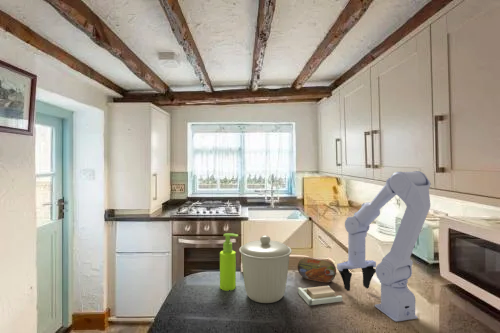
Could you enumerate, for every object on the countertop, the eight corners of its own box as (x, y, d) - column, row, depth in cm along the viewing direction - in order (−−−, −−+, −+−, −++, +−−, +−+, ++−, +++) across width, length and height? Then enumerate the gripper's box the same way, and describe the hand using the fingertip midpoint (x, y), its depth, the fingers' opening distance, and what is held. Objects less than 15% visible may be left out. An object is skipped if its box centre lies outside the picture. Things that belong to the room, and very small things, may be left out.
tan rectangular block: (334, 300, 97) (334, 291, 97) (313, 303, 95) (313, 294, 95) (327, 294, 102) (327, 285, 102) (306, 296, 100) (306, 288, 100)
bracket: (342, 301, 96) (342, 295, 96) (309, 305, 93) (309, 299, 93) (328, 289, 104) (328, 284, 104) (298, 293, 101) (298, 287, 101)
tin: (297, 277, 116) (297, 256, 116) (299, 274, 118) (299, 254, 118) (335, 284, 109) (335, 262, 108) (336, 281, 111) (337, 260, 111)
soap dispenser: (236, 291, 103) (236, 236, 102) (217, 289, 104) (217, 235, 104) (240, 284, 108) (240, 232, 108) (222, 283, 110) (222, 231, 110)
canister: (289, 312, 88) (289, 244, 88) (233, 306, 92) (233, 241, 92) (292, 287, 106) (293, 230, 106) (245, 283, 110) (245, 228, 110)
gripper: (367, 245, 107) (367, 281, 107) (332, 248, 104) (332, 285, 104) (380, 251, 100) (380, 289, 101) (343, 254, 97) (343, 294, 97)
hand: (356, 288), depth 102 cm, fingers open, 7 cm apart
